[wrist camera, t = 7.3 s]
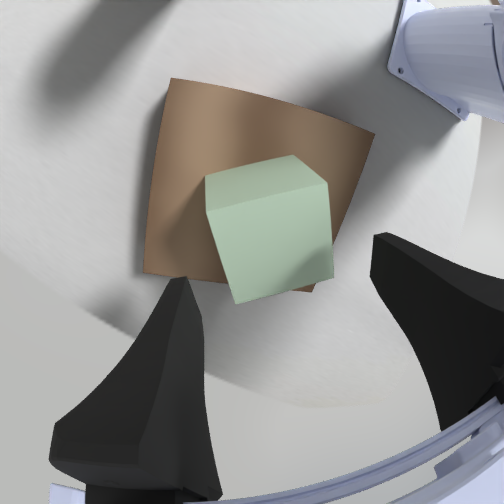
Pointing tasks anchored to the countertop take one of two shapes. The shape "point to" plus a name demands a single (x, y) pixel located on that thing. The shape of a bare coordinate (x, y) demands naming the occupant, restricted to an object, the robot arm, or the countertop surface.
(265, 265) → the sage cube
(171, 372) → the robot arm
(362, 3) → the countertop surface
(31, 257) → the countertop surface
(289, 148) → the walnut block
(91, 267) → the countertop surface
